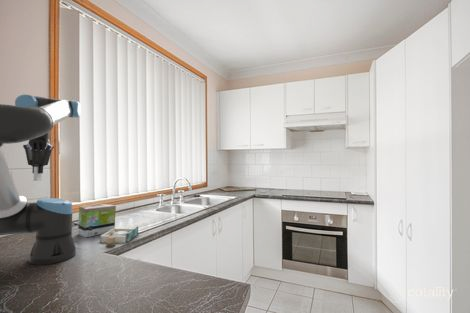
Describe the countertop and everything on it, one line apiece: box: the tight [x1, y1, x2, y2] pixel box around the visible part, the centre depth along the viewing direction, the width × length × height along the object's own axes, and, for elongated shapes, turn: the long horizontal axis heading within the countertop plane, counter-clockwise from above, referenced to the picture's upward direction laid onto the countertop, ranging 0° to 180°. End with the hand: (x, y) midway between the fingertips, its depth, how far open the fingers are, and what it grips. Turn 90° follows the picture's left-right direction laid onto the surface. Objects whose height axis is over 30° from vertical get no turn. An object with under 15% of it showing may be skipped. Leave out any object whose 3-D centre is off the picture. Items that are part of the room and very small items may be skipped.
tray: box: [107, 226, 139, 243], centre depth 122 cm, size 13×12×4 cm
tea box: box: [77, 203, 117, 238], centre depth 130 cm, size 15×10×15 cm, turn 143°
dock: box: [99, 227, 134, 244], centre depth 122 cm, size 14×12×3 cm
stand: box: [105, 237, 116, 248], centre depth 111 cm, size 4×4×4 cm
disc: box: [113, 231, 128, 236], centre depth 122 cm, size 7×7×2 cm
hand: (37, 180), depth 113 cm, fingers closed
